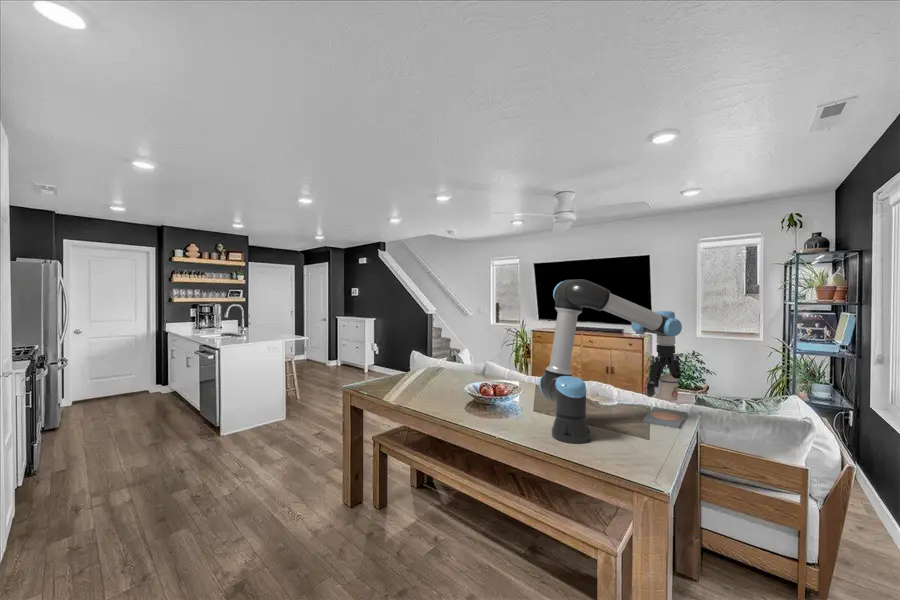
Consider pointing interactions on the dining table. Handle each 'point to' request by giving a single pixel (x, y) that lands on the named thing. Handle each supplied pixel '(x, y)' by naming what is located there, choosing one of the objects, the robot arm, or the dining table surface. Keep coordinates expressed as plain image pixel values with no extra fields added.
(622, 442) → the dining table surface
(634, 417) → the dining table surface
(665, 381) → the teacup with lid
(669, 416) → the slate tray
